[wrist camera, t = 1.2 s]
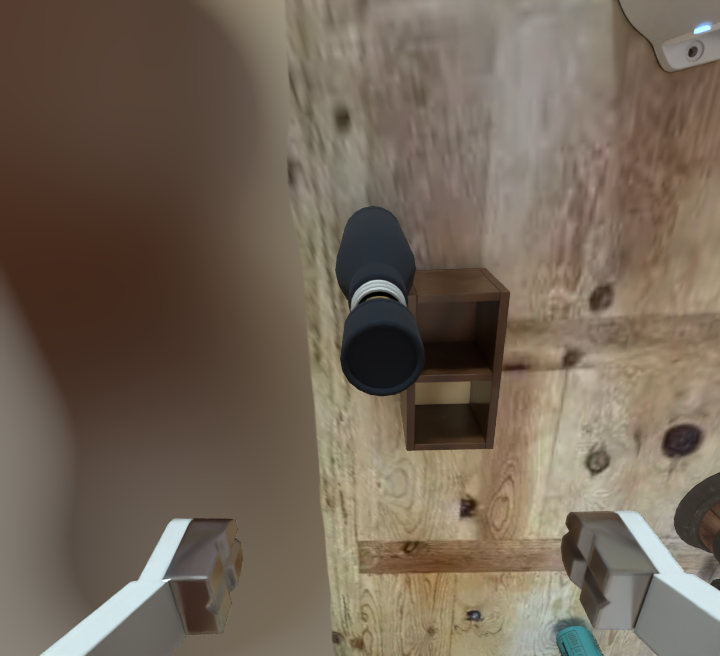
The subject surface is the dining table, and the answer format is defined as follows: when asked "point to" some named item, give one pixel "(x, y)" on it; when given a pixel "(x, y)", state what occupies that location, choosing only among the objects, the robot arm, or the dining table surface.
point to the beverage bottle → (577, 642)
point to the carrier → (456, 359)
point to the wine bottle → (378, 305)
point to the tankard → (701, 518)
